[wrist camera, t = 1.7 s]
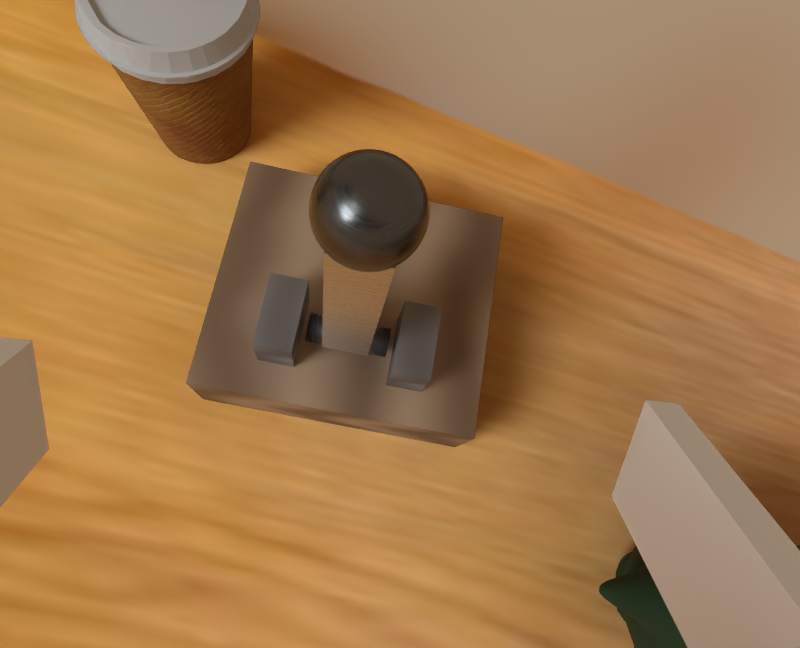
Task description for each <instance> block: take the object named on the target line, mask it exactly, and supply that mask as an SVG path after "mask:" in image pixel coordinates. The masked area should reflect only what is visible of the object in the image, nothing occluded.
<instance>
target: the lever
mask: <svg viewBox="0 0 800 648" xmlns="http://www.w3.org/2000/svg"><path fill="white" fill-rule="evenodd" d="M429 216H430V209H429V199H428V195H427V192H426V189H425V186H424V184H423V182H422V180H421V179H420V177H419V176H418V174H417V173H416V172H415V170H414V169H413V168H412V167H411V166H410V165H409V164H408V163H406V162H405V161H404V160H402V159H401V158H399V157H397V156H395V155H393V154H391V153H388V152H385V151H381V150H373V149H364V150H356V151H352V152H349V153H347V154H344V155H342V156H340V157H339V158H337V159H335V160H334V161H333V162H331V163H330V164H329V165H328V166H327V167H326V168H325V169H324V170H323V171H322V173H321V174H320V175H319V177H318V178H317V180H316V182H315V184H314V187H313V189H312V192H311V195H310V201H309V219H310V224H311V228H312V231H313V234H314V236H315V238H316V240H317V242H318V243H319V245H320V247H321V248H322V249H323V250H324V274H323V315H322V314H317V313H312V312H311V314H310V317H309V321H308V326H307V330H306V337H305V341H306V342H311V343H316V344H321V345H322V347H325V348H330V349H335V350H340V351H345V352H350V353H355V354H360V355H365V356H367V355H368V354H371V355H376V356H381V357H386V353H387V349H388V345H389V340H390V334H391V329H390V328H385V327H380V326H377V324H378V321H379V318H380V315H381V312H382V309H383V306H384V303H385V300H386V297H387V294H388V290H389V287H390V284H391V281H392V278H393V275H394V272H395V269H396V266H397V265H399V264H401V263H402V262H404V261H405V260H406V259H408V258H409V257H410V256H411V255H412V254H413V253H414V252H415V251H416V249H417V248H418V247H419V245H420V244H421V242H422V240H423V238H424V236H425V234H426V231H427V227H428V223H429Z"/></svg>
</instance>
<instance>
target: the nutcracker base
mask: <svg viewBox="0 0 800 648" xmlns="http://www.w3.org/2000/svg"><path fill="white" fill-rule="evenodd" d="M317 178H318V176H313V175H309V174H304V173H300V172H295V171H291V170H286V169H282V168H277V167H273V166H268V165H263V164H259V163H254V162H250V165H249V168H248V172H247V175H246V179H245V182H244V186H243V189H242V192H241V196H240V199H239V203H238V206H237V210H236V213H235V217H234V220H233V223H232V227H231V230H230V234H229V237H228V241H227V244H226V247H225V251H224V254H223V258H222V261H221V265H220V268H219V272H218V275H217V278H216V282H215V285H214V289H213V292H212V296H211V299H210V302H209V306H208V309H207V313H206V316H205V320H204V323H203V327H202V330H201V333H200V337H199V340H198V344H197V347H196V351H195V354H194V357H193V361H192V364H191V368H190V371H189V375H188V378H187V381H186V384H188V385H189V386H190V387H191V388H192V389H193V390H194V391H195V392H196V393H197V394H198V395H199V396H201V397H202V398H203V399H206V400H211V401H216V402H221V403H227V404H232V405H237V406H242V407H248V408H253V409H258V410H263V411H269V412H274V413H279V414H284V415H290V416H295V417H300V418H305V419H311V420H316V421H321V422H326V423H332V424H337V425H342V426H347V427H353V428H358V429H363V430H368V431H374V432H379V433H384V434H389V435H394V436H400V437H405V438H410V439H415V440H421V441H426V442H431V443H436V444H442V445H447V446H452V447H456V446H458V445H461V444H463V443H465V442H467V441H470V440H472V439H474V437H475V430H476V422H477V414H478V407H479V399H480V391H481V384H482V376H483V368H484V360H485V353H486V345H487V337H488V330H489V322H490V314H491V307H492V299H493V291H494V283H495V276H496V268H497V260H498V253H499V245H500V237H501V230H502V222H503V217H499V216H494V215H490V214H485V213H481V212H476V211H472V210H467V209H463V208H458V207H453V206H449V205H444V204H440V203H435V202H431V201H429V209H430V216H429V223H428V227H427V231H426V234H425V236H424V238H423V240H422V242H421V244H420V245H419V247H418V248H417V249H416V251H415V252H414V253H413V254H412V255H411V256H410V257H409V258H408V259H406V260H405V261H404V262H402V263H401V264H399V265H397V266H396V269H395V272H394V275H393V278H392V281H391V284H390V287H389V290H388V294H387V297H386V300H385V303H384V306H383V309H382V312H381V315H380V318H379V321H378V324H377V326H380V327H385V328H390V329H391V334H390V340H389V345H388V349H387V353H386V357H381V356H376V355H371V354H368V355H367V356H365V355H360V354H355V353H350V352H345V351H340V350H335V349H330V348H325V347H322V345H321V344H316V343H311V342H306V341H305V337H306V330H307V326H308V321H309V317H310V314H311V312H312V313H317V314H322V315H323V274H324V250H323V249H322V248H321V247H320V245H319V243H318V242H317V240H316V238H315V236H314V234H313V231H312V228H311V224H310V219H309V201H310V195H311V192H312V189H313V187H314V184H315V182H316V180H317Z"/></svg>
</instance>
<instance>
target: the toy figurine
mask: <svg viewBox="0 0 800 648" xmlns="http://www.w3.org/2000/svg"><path fill="white" fill-rule="evenodd" d="M599 592H600V594H601V595H602V596H603V597H604V598H605V599H606V600H608V601H609V602H610V603H612V604H613V605H615V606H616V607H617V609H618V612H619V613H620V615H621V616H622V618H623V619H624V620H625V621H626V623H627V626H628V629H629V633H630V635H631V638H632V641H633V643H634V648H687V646H686V644H685V642H684V640H683V638H682V636H681V634H680V632H679V630H678V628H677V626H676V624H675V622H674V620H673V618H672V616H671V614H670V612H669V610H668V608H667V606H666V604H665V602H664V600H663V598H662V596H661V594H660V592H659V590H658V588H657V586H656V584H655V582H654V580H653V578H652V576H651V574H650V572H649V570H648V568H647V566H646V564H645V562H644V560H643V558H642V556H641V554H640V552H639V550H638V548H637V546H636V547H635V548H634V550H633V552H631V553H628V554H627V555H626V556H625V557H623V558H622V559H621V560H620V563H619V565H618V568H617V571H616V578H614V579H611V580H608V581H606V582H604V583H603V584H601V585H600V588H599Z"/></svg>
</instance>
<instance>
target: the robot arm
mask: <svg viewBox="0 0 800 648" xmlns="http://www.w3.org/2000/svg"><path fill="white" fill-rule="evenodd" d="M48 449H49V446H48V440H47V433H46V427H45V421H44V414H43V408H42V401H41V395H40V388H39V382H38V375H37V369H36V362H35V356H34V349H33V343H32V340H23V339H13V338H3V337H0V507H1V506H2V505H3V503H4V502H5V501H6V500H7V499H8V497H9V496H10V495H11V494H12V493H13V491H14V490H15V489H16V488H17V487H18V485H19V484H20V483H21V482H22V481H23V479H24V478H25V477H26V476H27V475H28V473H29V472H30V471H31V470H32V469H33V467H34V466H35V465H36V464H37V463H38V461H39V460H40V459H41V458H42V457H43V455H44V454H45V453H46V452H47V451H48ZM612 498H613V500H614V502H615V504H616V506H617V508H618V510H619V512H620V514H621V516H622V518H623V520H624V522H625V524H626V526H627V528H628V530H629V532H630V534H631V536H632V538H633V540H634V542H635V544H636V546H637V548H638V550H639V552H640V554H641V556H642V558H643V560H644V562H645V564H646V566H647V568H648V570H649V572H650V574H651V576H652V578H653V580H654V582H655V584H656V586H657V588H658V590H659V592H660V594H661V596H662V598H663V600H664V602H665V604H666V606H667V608H668V610H669V612H670V614H671V616H672V618H673V620H674V622H675V624H676V626H677V628H678V630H679V632H680V634H681V636H682V638H683V640H684V642H685V644H686V646H687V648H800V546H796V545H795V544H794V543H793V542H792V541H791V539H790V538H789V537H788V536H787V535H786V533H785V532H784V531H783V530H782V528H781V527H780V526H779V525H778V524H777V522H776V521H775V520H774V519H773V517H772V516H771V515H770V514H769V513H768V511H767V510H766V509H765V508H764V507H763V505H762V504H761V503H760V502H759V500H758V499H757V498H756V497H755V496H754V494H753V493H752V492H751V491H750V490H749V488H748V487H747V486H746V485H745V483H744V482H743V481H742V480H741V479H740V477H739V476H738V475H737V474H736V472H735V471H734V470H733V469H732V468H731V466H730V465H729V464H728V463H727V462H726V460H725V459H724V458H723V457H722V455H721V454H720V453H719V452H718V451H717V449H716V448H715V447H714V446H713V444H712V443H711V442H710V441H709V440H708V438H707V437H706V436H705V435H704V434H703V432H702V431H701V430H700V429H699V427H698V426H697V425H696V424H695V423H694V421H693V420H692V419H691V418H690V416H689V415H688V414H687V413H686V412H685V410H684V409H683V408H682V407H681V406H680V404H679V403H670V402H660V401H650V400H646V401H645V403H644V406H643V409H642V412H641V415H640V417H639V420H638V423H637V426H636V429H635V432H634V434H633V437H632V440H631V443H630V446H629V448H628V451H627V454H626V457H625V460H624V462H623V465H622V468H621V471H620V474H619V477H618V479H617V482H616V485H615V488H614V491H613V493H612Z"/></svg>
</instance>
